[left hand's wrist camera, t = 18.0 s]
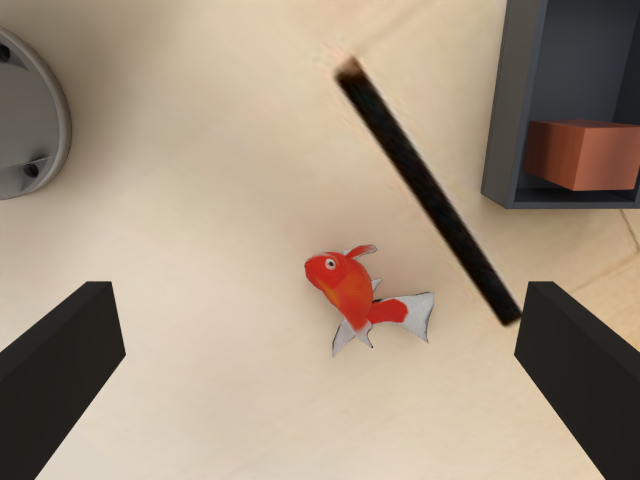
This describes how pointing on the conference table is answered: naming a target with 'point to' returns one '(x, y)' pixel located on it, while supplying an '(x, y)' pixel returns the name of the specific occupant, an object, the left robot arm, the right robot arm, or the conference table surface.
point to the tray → (561, 92)
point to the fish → (364, 297)
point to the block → (584, 153)
